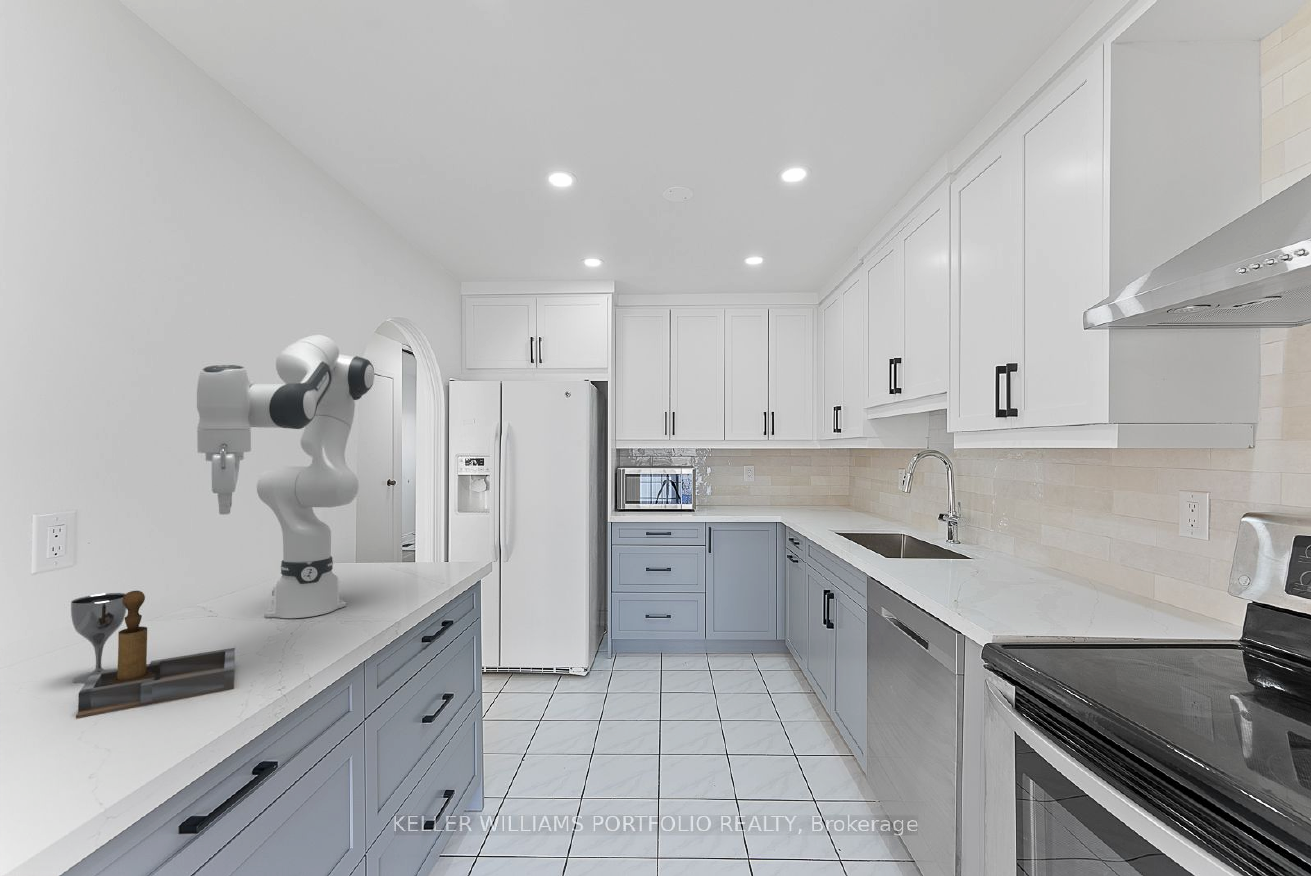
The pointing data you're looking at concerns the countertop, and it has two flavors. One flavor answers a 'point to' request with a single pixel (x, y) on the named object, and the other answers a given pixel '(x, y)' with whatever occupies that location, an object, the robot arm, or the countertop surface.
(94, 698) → the tray
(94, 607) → the wine glass
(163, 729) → the countertop surface
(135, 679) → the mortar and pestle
